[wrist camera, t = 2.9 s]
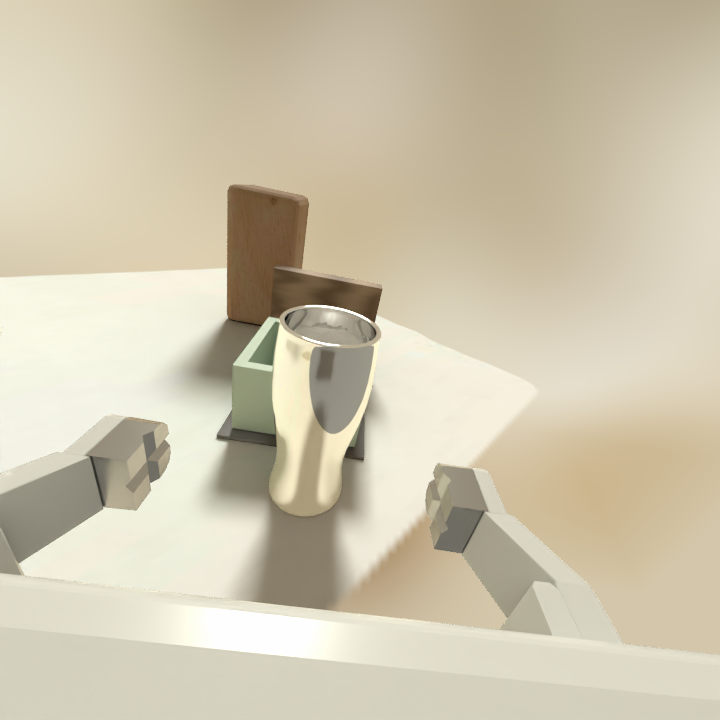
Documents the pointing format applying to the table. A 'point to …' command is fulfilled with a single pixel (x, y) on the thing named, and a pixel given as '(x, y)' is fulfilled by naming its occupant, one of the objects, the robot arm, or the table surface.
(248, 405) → the sage green storage bin
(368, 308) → the box
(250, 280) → the wooden block
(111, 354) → the table surface
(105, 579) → the table surface
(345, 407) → the beer glass
